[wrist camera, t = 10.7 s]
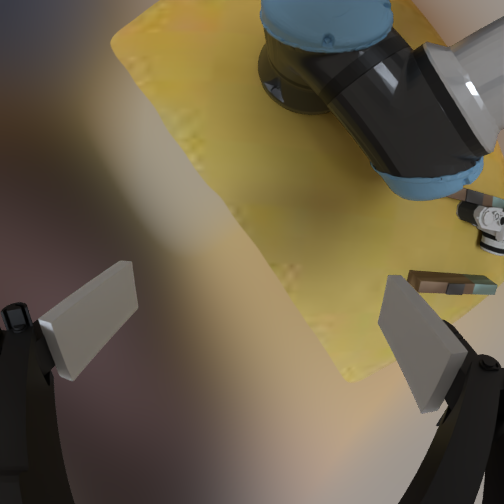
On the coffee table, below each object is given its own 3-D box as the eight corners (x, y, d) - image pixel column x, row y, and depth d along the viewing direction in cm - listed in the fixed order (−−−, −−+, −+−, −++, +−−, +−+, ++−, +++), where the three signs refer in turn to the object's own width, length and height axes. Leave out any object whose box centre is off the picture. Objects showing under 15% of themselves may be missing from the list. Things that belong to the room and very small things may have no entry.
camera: (449, 241, 42) (479, 258, 33) (456, 194, 39) (489, 203, 30) (501, 248, 41) (530, 264, 31) (508, 208, 38) (539, 218, 29)
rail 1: (424, 179, 40) (440, 182, 34) (499, 199, 38) (516, 203, 33) (423, 191, 40) (438, 195, 35) (498, 208, 38) (514, 214, 33)
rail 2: (409, 270, 44) (422, 282, 39) (484, 275, 43) (498, 285, 38) (407, 280, 45) (418, 293, 40) (481, 284, 43) (495, 295, 38)
